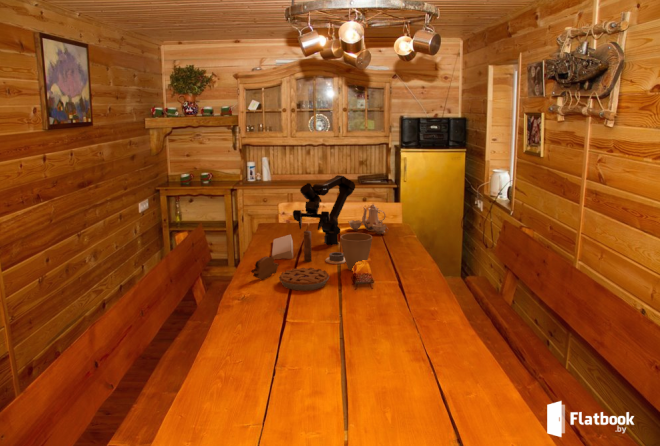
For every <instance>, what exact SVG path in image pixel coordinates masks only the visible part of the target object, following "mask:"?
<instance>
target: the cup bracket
mask: <svg viewBox="0 0 660 446" xmlns="http://www.w3.org/2000/svg"><path fill="white" fill-rule="evenodd" d="M325 262H326V263H327V264H332V265H341V264H346V263H345V262H346V261H345V258H344V254H343V252H338V251H337V252H336V251H334V252H330V253H329V256H328V257H327V258H325Z"/></svg>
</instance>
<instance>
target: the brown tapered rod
mask: <svg viewBox="0 0 660 446" xmlns="http://www.w3.org/2000/svg"><path fill="white" fill-rule="evenodd" d="M303 255H304V256H303V261H304V262H305V263H311V262H312V231H311V230H304V231H303Z"/></svg>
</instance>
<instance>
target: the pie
mask: <svg viewBox="0 0 660 446" xmlns="http://www.w3.org/2000/svg"><path fill="white" fill-rule="evenodd" d="M278 279H279V282H281V284H282V286H283V287H285V288H286V289H289V290H293V291H303V292H304V291H314V290H318V289H321V288H323V287H324V286H325V285H326V283H327V282H328V281H329V279H330V275H329V273H328V272H327V271H326V270H322V269H321V268H317V269H316V268H313V267H309V268H305V267H301V268H297V267H295V268H294V267H293V268H292V269H286V270H285V271H282V272H281V273H280V275H279V277H278Z"/></svg>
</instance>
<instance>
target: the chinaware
mask: <svg viewBox="0 0 660 446" xmlns="http://www.w3.org/2000/svg"><path fill="white" fill-rule="evenodd" d="M367 209H368V217H367ZM363 210H364V211H363V215H362V219H361V220H360V219H358V220H353V219H352V220H349V221H347V222H348V224H349V227H350V228H351V229H352V230H353V231H359V229H360V228H361V226H362V225H363V226H364V228H365V230H366V231H367V230H368V232H375V233H376V235H383V234H385V233H388V231H385V230H386V229H387V230H389V228H388V226H387V224H385V223H384V224H383V222H384V221H385V220H386V216H387V215H386V212H385V211H383V210H381V209H379V207H377V206H376V204H374V203H373V204H372V205H371V206H370V207H368V208H366V207H365V206H363ZM380 213H383V214H384V217H383V218H382V219H379V215H378V214H380Z"/></svg>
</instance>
